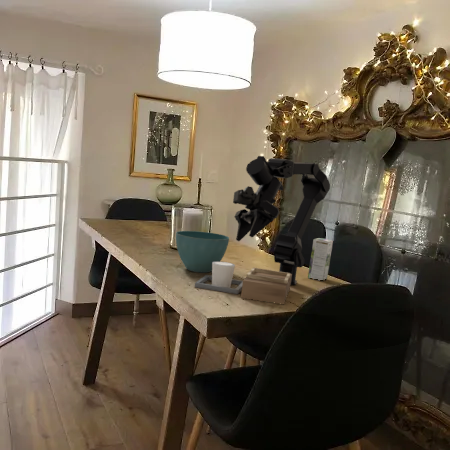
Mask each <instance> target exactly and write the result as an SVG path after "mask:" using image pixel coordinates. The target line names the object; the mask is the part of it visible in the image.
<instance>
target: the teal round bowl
mask: <svg viewBox="0 0 450 450" xmlns="http://www.w3.org/2000/svg"><path fill="white" fill-rule="evenodd" d="M229 242H230V237H229V236H227V235H225V234H220V233H215V232H207V231H198V230H197V231H196V230H195V231H194V230H180V231H176V232H175V244H176V249H177V252H178V255H179V258H180V260H181V262H182V264H183V265H184V267H185V268H186V269H187V270H188V271H191V272H194V273H203V274H205V273H212V262H216V261H220V262H222V260H223V258H224V255H225V254H226V251H227V248H228V246H229Z"/></svg>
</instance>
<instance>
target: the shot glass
mask: <svg viewBox="0 0 450 450" xmlns="http://www.w3.org/2000/svg"><path fill="white" fill-rule="evenodd" d="M235 268H236V264H234V263H231V262H227V261H216V262H212V271H211V273H212V274H211V276H212V280H211V285H216V286H222V287H228V288H231V285H232V284H231V281H232V279H233V278H234V277H233V276H234V271H235Z"/></svg>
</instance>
